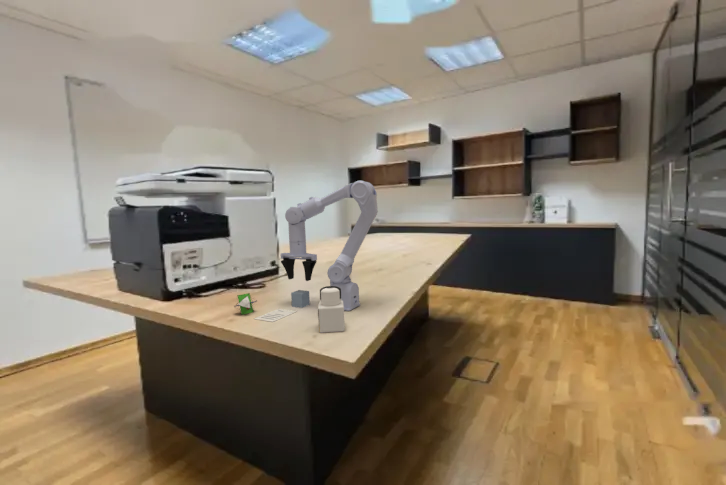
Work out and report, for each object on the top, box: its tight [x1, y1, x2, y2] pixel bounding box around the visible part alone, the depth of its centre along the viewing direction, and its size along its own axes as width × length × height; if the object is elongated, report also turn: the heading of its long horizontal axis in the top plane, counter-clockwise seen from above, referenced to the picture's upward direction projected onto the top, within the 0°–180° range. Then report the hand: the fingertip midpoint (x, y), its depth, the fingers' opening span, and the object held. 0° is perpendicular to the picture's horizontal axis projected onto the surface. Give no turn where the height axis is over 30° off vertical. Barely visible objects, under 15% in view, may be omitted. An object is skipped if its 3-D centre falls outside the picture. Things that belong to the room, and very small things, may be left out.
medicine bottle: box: [317, 285, 346, 334], centre depth 105 cm, size 7×7×12 cm
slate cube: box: [290, 289, 311, 309], centre depth 130 cm, size 4×4×5 cm
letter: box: [253, 308, 298, 323], centre depth 120 cm, size 8×12×1 cm, turn 152°
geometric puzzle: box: [233, 292, 258, 316], centre depth 123 cm, size 7×7×8 cm
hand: (299, 279), depth 129 cm, fingers open, 7 cm apart
